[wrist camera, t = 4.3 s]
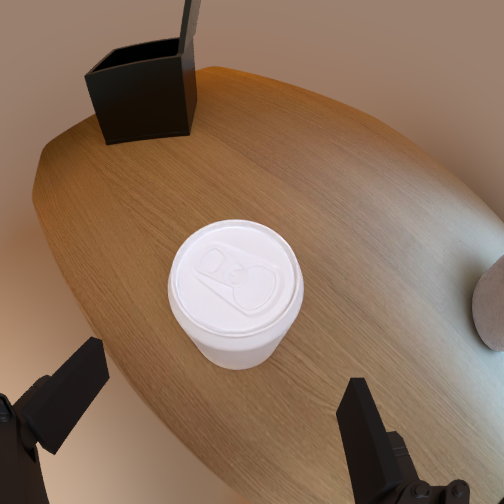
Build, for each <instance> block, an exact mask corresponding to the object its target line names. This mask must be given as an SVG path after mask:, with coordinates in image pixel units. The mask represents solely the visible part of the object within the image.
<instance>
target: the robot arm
mask: <svg viewBox="0 0 504 504" xmlns="http://www.w3.org/2000/svg"><path fill="white" fill-rule="evenodd" d="M108 379H109V372H108V368H107V363H106V358H105V353H104V348H103V342H102V340H100V339H97V338H94V337H90V338H89V339H88V340H87V341H86V342H85V343H84V344H83V345H82V346H81V347H80V348H79V349H78V350H77V351H76V352H75V353H74V354H73V355H72V356H71V357H70V358H69V359H68V360H67V361H66V362H65V363H64V364H63V365H62V366H61V367H60V368H59V369H58V370H57V371H56V372H55V373H54V374H53V375H52V376H49V375H45V376H43V377H41V378H39V379H38V380H37V381H36V382H35V383H34V384H33V386H31V387H30V388H29V390H28V391H26V392H25V393H24V394H23V395H22V396H21V398H20V399H18V400H17V402H16V403H15V404H14V405H13V406H12V405H11V403H10V402H9V400H8V398H7V397H6V395H4V394H2V393H0V504H49V501H48V498H47V493H46V489H45V486H44V481H43V477H42V472H41V468H40V462H39V456H38V450H37V447H36V443H37V442H39V443H40V445H41V446H42V448H44V449H45V450H47V451H48V452H50V453H52V454H54V455H55V454H56V452H57V451H58V449H59V448H60V447H61V445H62V444H63V442H64V441H65V439H66V438H67V436H68V435H69V433H70V432H71V431H72V429H73V428H74V426H75V425H76V423H77V422H78V421H79V419H80V418H81V416H82V415H83V413H84V412H85V411H86V409H87V408H88V407H89V405H90V404H91V402H92V401H93V400H94V398H95V397H96V396H97V394H98V393H99V391H100V390H101V389H102V387H103V386H104V385H105V383H106V382H107V381H108ZM336 416H337V420H338V425H339V429H340V433H341V438H342V442H343V446H344V451H345V455H346V460H347V465H348V469H349V474H350V479H351V484H352V489H353V494H354V499H355V504H469V498H470V489H469V485H468V484H467V483H466V482H465V481H464V480H460V479H458V480H454V481H452V482H451V483H449V484H448V485H447V486H430V485H429V484H428V483H427V482H425V481H422V480H420V479H419V477H418V475H417V472H416V470H415V467H414V465H413V462H412V460H411V457H410V455H409V452H408V450H407V448H406V445H405V443H404V440H403V438H402V437H401V436H400V435H399V434H398V433H397V432H396V431H393V432H386V430H385V427H384V425H383V422H382V420H381V417H380V415H379V412H378V410H377V407H376V405H375V402H374V400H373V398H372V395H371V393H370V390H369V388H368V386H367V383H366V381H365V379H364V378H350V381H349V383H348V386H347V388H346V391H345V393H344V396H343V398H342V400H341V403H340V405H339V407H338V409H337V412H336Z"/></svg>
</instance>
